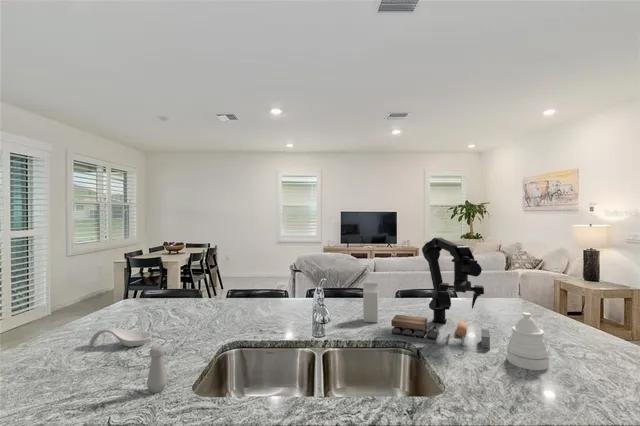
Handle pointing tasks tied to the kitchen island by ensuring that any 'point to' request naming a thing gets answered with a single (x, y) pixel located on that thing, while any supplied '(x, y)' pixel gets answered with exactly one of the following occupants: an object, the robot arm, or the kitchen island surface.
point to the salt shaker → (157, 370)
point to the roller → (461, 329)
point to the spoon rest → (124, 336)
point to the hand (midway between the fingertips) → (461, 307)
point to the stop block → (485, 339)
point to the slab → (409, 322)
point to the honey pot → (527, 345)
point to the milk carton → (370, 302)
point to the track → (419, 334)
